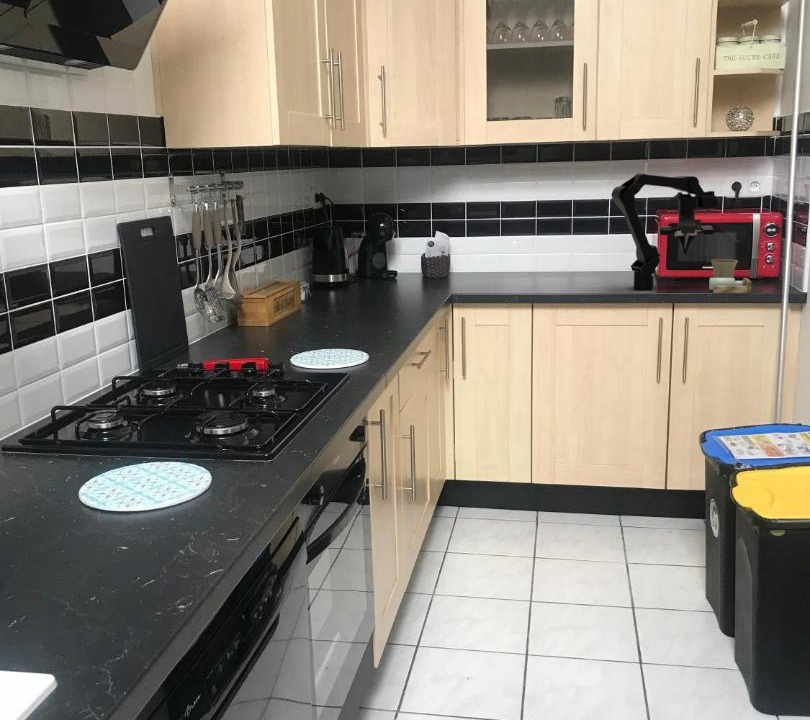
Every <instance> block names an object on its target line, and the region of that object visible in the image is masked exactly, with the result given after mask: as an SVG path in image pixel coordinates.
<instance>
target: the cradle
mask: <svg viewBox="0 0 810 720" xmlns="http://www.w3.org/2000/svg"><path fill="white" fill-rule="evenodd" d="M742 278H743V279H742V280H745V286H714V290H711V291H712V292H713V294H752V280H750V279H749V278H747V277H742Z"/></svg>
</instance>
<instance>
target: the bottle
mask: <svg viewBox="0 0 810 720" xmlns="http://www.w3.org/2000/svg"><path fill="white" fill-rule="evenodd" d="M708 286H709V287H708V288H709V289H708V290H709V291H712V290H714V286H745V280H743V279H742V280H736V279H735V277H733V278H714V277H709V280H708Z"/></svg>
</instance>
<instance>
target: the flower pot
mask: <svg viewBox="0 0 810 720" xmlns="http://www.w3.org/2000/svg"><path fill="white" fill-rule="evenodd" d="M710 262H711V266H712V271H713V272H712V273H713V275H712V276H713V278H734V274H735V270H736V269H735V268H736V266H737V264H738V260H736V259H728V258H723V259H722V258H719V259H718V258H716V259H712V260H710Z"/></svg>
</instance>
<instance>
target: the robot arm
mask: <svg viewBox="0 0 810 720" xmlns="http://www.w3.org/2000/svg"><path fill="white" fill-rule="evenodd" d="M646 185H647V186H655V187H665V188H669V189H672V190H676V191H678V192H677V193H676V195H675V194H674V195H673V199H675V200H676V199H677V200H679V201H678V215H677V227H672V226H671V225H661V226H658V227H659V228H658V234H659V236H669V235H671V234H674V237H675V238H677V239H678V241H679V244H680V247H681V251H682V253H683V255H686V254H687V251H688V250H689V247H690V244H691V243H692V241H693V239H694V238H697V237H698V235H697V234H700V233H701V234H704V235H705V236H709V235H710V236H711V235H713V236H714V234H715V233H714V231H715V228H714V226H711V225H702V219H699V218H698V219H695V218H696V210H697V211H713V210H716V208H717V206H718V200H717V197H716V195H715V191H714V190H707V191H704V189H703V188H702V187H701V185H700V181H699V178H697V177H696V176H691V175H680V176H677V175H676V176H665V175H664V176H663V175H656V174H655V175H654V174H646V173H644V172H643V173H642V172H639V173H636V174H634V176H632V177H631V178H630V179H627V180H626V181H624V182H623V183H622V184H621V185H618V186H616V187H614V188H613V189H612V191H611V194H610V195H611V198H612V200H613V202H614V203H615V205H616V207H617V208H618V209H619V210H620V211H621V212H622V215H623V216H624V220H625V221H626V222H625V223H626V224H627V227H628V229H629V232H630V234H631V236H632V239H633V243H634V245H635V247H636V248H635V256H636V260H635V261H633V263H632V264H630V269H631V271H632V272H633V282H632V283H633V286H632V288H633V291H652V290H653V288H654V276H653V274H655V271H656V268H657V267H658V266H659V264H660V262H661V258H660V257H661V254H660V253H659V250H658V247H657V245H653V244H650V241H649V240H648V237H647V234H646V232H645V230H644V227H643V224H642V222H641V219H640V217H639V215H638V211H637V210H636V202H637V201H636V196H637V194H638V193H640V191H641V189H642V188H643V187H644V186H646ZM692 195H694V196H692ZM684 234H685V235H686V237H685V235H684ZM704 235H703V236H704ZM685 238H686V239H685Z"/></svg>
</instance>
